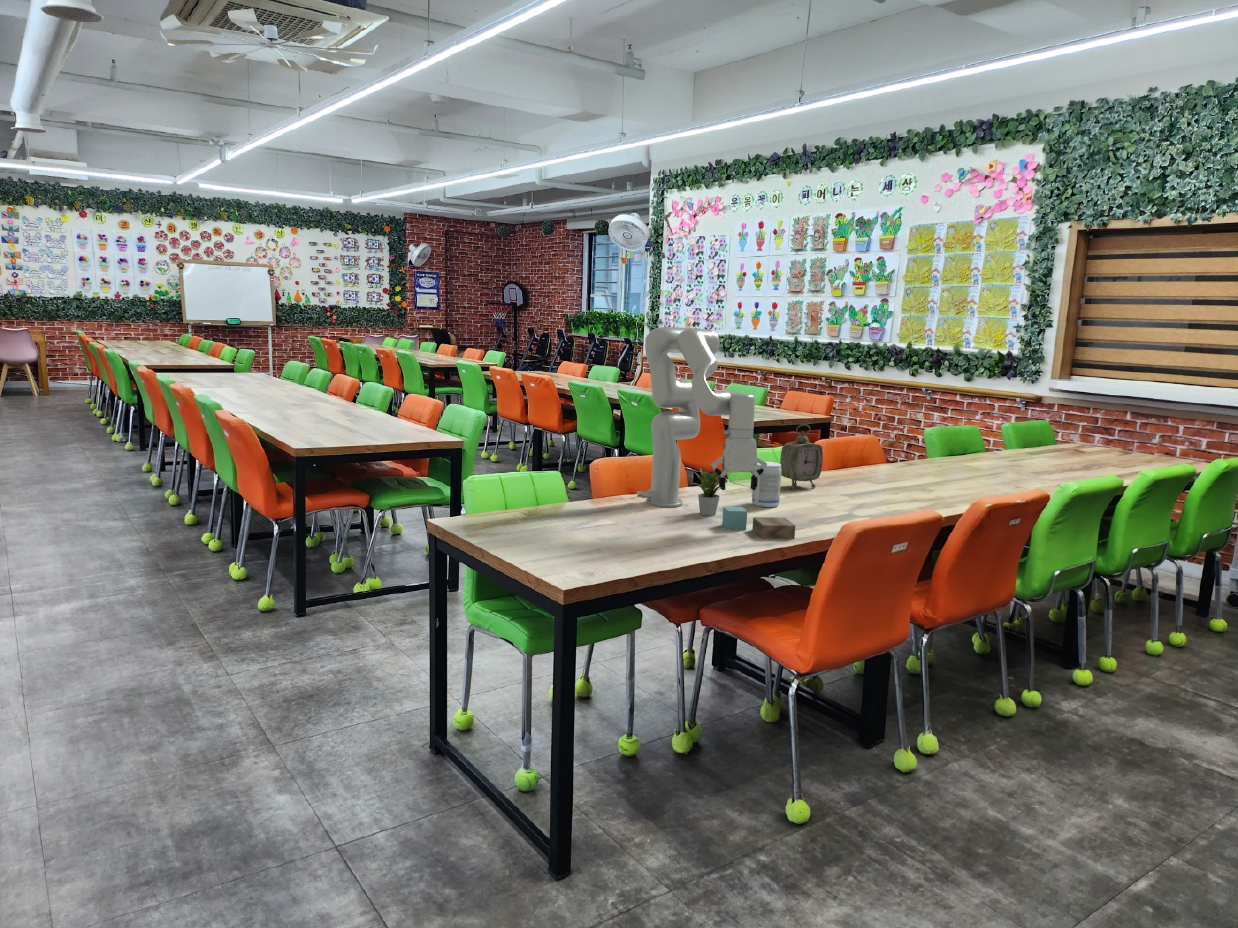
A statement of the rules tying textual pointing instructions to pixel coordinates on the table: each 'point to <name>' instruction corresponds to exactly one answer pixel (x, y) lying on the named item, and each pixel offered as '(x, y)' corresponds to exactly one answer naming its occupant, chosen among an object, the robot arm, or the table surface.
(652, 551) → the table surface
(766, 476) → the supplement tub
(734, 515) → the teal cube
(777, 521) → the walnut base
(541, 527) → the table surface
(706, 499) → the house plant
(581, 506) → the table surface
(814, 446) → the tabletop clock
